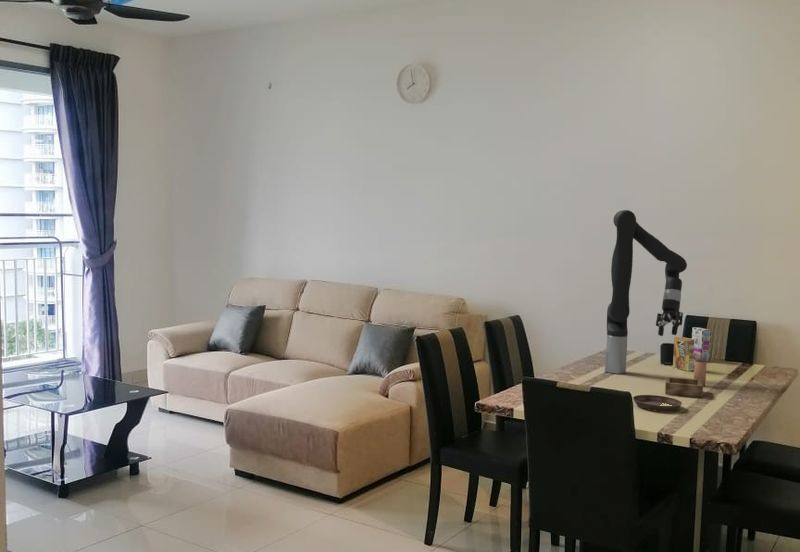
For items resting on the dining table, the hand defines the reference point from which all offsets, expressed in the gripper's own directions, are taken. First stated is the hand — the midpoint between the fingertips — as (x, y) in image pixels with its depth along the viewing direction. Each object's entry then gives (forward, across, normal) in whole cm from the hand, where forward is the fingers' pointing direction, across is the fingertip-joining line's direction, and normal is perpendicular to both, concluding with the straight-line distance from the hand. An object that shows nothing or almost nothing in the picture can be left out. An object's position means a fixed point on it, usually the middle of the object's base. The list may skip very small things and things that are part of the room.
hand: (667, 335), depth 340 cm
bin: (+27, +22, -6) cm, 35 cm away
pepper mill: (+20, +12, +10) cm, 26 cm away
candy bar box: (-1, -36, +53) cm, 64 cm away
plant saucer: (+38, +38, -32) cm, 63 cm away
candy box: (+10, -18, +27) cm, 34 cm away
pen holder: (+7, -30, +29) cm, 43 cm away
